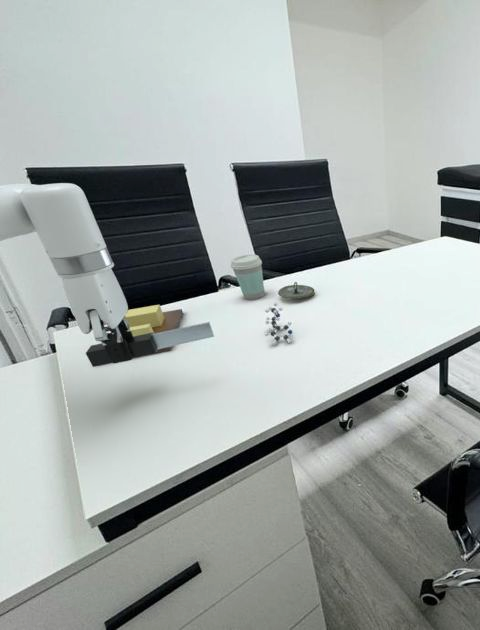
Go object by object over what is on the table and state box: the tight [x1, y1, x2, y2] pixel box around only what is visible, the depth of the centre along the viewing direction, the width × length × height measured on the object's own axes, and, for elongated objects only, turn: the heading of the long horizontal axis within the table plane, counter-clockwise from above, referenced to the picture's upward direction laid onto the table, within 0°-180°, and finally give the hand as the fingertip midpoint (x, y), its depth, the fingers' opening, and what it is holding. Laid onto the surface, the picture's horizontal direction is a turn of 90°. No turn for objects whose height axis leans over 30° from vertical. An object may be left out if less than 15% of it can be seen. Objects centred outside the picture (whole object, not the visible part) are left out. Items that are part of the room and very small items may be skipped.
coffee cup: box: [230, 254, 265, 301], centre depth 116 cm, size 8×8×12 cm
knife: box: [85, 321, 215, 368], centre depth 73 cm, size 20×3×3 cm, turn 112°
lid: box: [277, 281, 315, 300], centre depth 115 cm, size 11×10×5 cm
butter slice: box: [112, 324, 154, 337], centre depth 90 cm, size 7×2×4 cm, turn 112°
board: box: [138, 308, 184, 358], centre depth 97 cm, size 14×22×2 cm, turn 22°
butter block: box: [125, 304, 164, 327], centre depth 99 cm, size 7×5×4 cm
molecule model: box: [264, 302, 293, 346], centre depth 93 cm, size 6×12×8 cm, turn 31°
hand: (125, 355), depth 72 cm, fingers closed on knife, 3 cm apart
